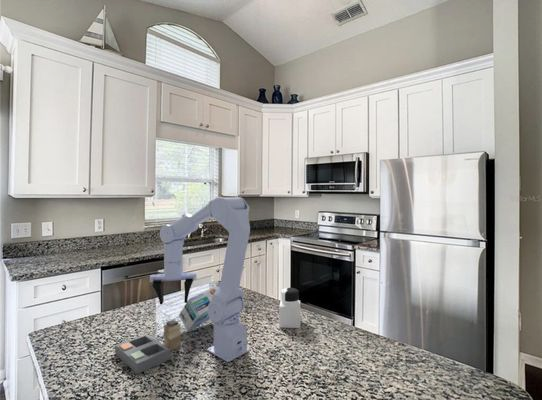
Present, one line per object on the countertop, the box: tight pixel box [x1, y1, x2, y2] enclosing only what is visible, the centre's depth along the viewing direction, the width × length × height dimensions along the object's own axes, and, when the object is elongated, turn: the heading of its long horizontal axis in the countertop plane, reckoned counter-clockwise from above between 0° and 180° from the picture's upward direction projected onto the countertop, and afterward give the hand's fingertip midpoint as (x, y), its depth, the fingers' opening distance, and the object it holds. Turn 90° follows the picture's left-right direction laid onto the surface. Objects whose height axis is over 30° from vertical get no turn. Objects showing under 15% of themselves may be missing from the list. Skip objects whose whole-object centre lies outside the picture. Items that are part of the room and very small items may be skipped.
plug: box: [163, 319, 182, 351], centre depth 87 cm, size 3×3×7 cm
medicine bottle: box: [278, 287, 301, 329], centre depth 102 cm, size 7×7×12 cm
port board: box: [114, 333, 172, 375], centre depth 81 cm, size 14×9×3 cm, turn 49°
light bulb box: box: [178, 286, 217, 332], centre depth 98 cm, size 11×7×11 cm
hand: (173, 302), depth 96 cm, fingers open, 7 cm apart
